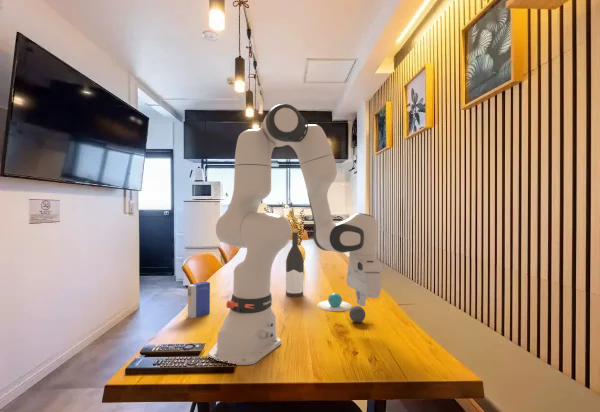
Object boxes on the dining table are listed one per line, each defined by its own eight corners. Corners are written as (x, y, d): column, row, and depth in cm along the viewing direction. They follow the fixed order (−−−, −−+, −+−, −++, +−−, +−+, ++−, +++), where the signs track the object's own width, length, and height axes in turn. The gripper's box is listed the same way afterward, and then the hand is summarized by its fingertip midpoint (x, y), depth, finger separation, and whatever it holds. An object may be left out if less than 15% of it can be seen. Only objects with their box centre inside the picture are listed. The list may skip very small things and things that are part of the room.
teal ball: (333, 304, 136) (338, 312, 131) (323, 299, 134) (328, 306, 129) (341, 293, 136) (346, 300, 131) (331, 288, 134) (336, 294, 129)
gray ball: (361, 302, 118) (355, 314, 120) (349, 303, 115) (344, 315, 117) (370, 312, 114) (364, 325, 116) (359, 314, 111) (353, 326, 113)
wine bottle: (303, 292, 154) (304, 228, 153) (302, 297, 146) (303, 230, 145) (286, 291, 154) (287, 228, 154) (284, 296, 146) (285, 229, 146)
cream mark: (349, 313, 125) (349, 312, 125) (314, 309, 129) (314, 308, 129) (353, 302, 139) (353, 301, 139) (321, 299, 143) (321, 299, 143)
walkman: (205, 311, 125) (205, 280, 125) (209, 313, 123) (210, 281, 123) (186, 316, 119) (187, 284, 119) (190, 318, 118) (191, 285, 117)
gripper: (342, 258, 117) (341, 297, 117) (366, 267, 97) (364, 314, 97) (359, 258, 119) (357, 297, 118) (385, 267, 99) (383, 313, 98)
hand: (360, 304), depth 107 cm, fingers closed
